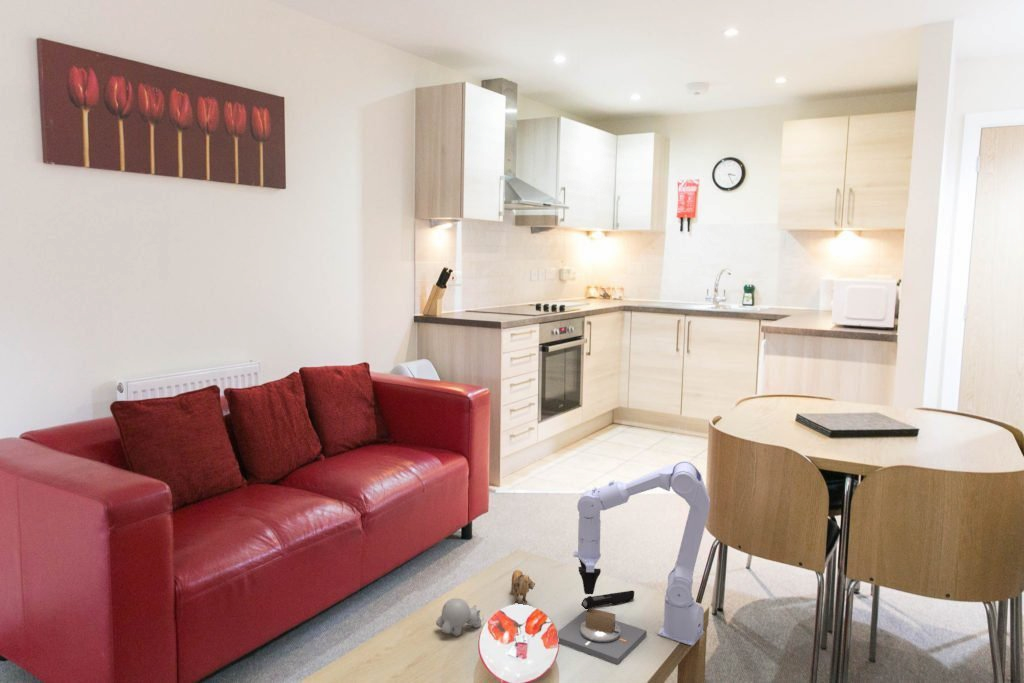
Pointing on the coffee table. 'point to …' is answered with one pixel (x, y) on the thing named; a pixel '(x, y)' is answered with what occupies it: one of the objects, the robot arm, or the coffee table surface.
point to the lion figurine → (521, 585)
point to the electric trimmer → (607, 599)
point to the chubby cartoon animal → (458, 616)
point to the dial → (600, 626)
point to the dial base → (603, 650)
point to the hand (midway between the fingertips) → (588, 586)
